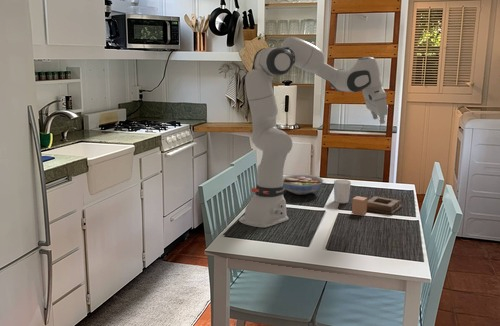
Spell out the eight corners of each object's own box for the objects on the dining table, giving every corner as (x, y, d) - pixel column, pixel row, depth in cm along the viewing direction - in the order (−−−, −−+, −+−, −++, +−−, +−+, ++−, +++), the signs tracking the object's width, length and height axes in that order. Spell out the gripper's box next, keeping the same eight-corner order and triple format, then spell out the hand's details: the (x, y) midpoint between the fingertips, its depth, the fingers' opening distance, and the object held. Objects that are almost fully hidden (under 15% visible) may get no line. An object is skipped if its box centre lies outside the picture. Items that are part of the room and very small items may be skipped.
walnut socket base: (392, 215, 211) (392, 207, 211) (362, 209, 219) (362, 202, 218) (401, 207, 223) (402, 200, 222) (373, 202, 230) (373, 195, 230)
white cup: (348, 199, 235) (349, 179, 233) (350, 204, 227) (351, 183, 225) (332, 198, 235) (333, 179, 233) (333, 203, 228) (334, 183, 226)
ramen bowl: (325, 188, 254) (325, 173, 252) (325, 200, 232) (326, 184, 230) (278, 186, 258) (278, 171, 256) (274, 198, 235) (274, 182, 234)
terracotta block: (362, 215, 210) (363, 200, 209) (351, 213, 213) (352, 198, 212) (366, 212, 214) (367, 197, 213) (356, 210, 217) (356, 196, 216)
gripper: (359, 90, 223) (365, 118, 227) (373, 98, 204) (379, 128, 208) (372, 86, 223) (378, 114, 227) (387, 93, 204) (393, 123, 208)
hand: (379, 121), depth 217 cm, fingers open, 8 cm apart
